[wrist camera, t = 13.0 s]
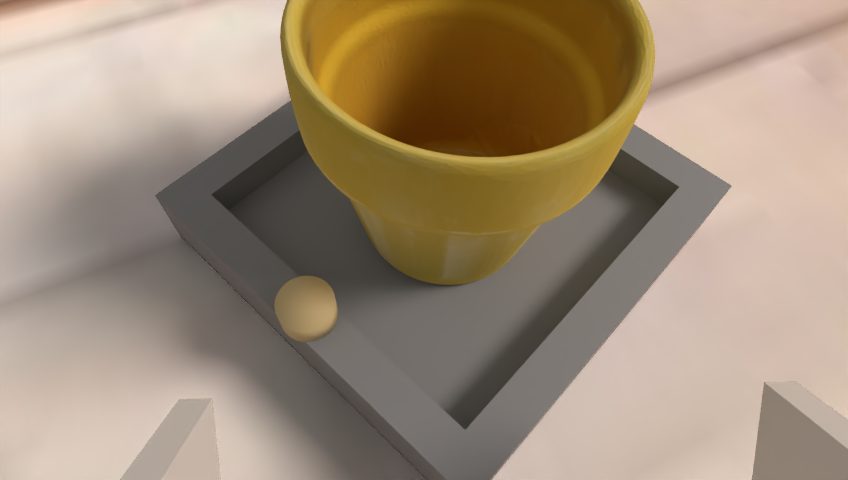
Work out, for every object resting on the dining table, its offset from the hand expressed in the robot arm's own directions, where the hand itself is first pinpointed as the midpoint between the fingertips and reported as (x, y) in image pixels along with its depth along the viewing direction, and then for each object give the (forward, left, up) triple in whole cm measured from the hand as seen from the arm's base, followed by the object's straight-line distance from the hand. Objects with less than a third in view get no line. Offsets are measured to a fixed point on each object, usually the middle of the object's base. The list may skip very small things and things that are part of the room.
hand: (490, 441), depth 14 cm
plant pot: (-7, -8, -6) cm, 12 cm away
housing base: (-7, -8, -8) cm, 13 cm away
